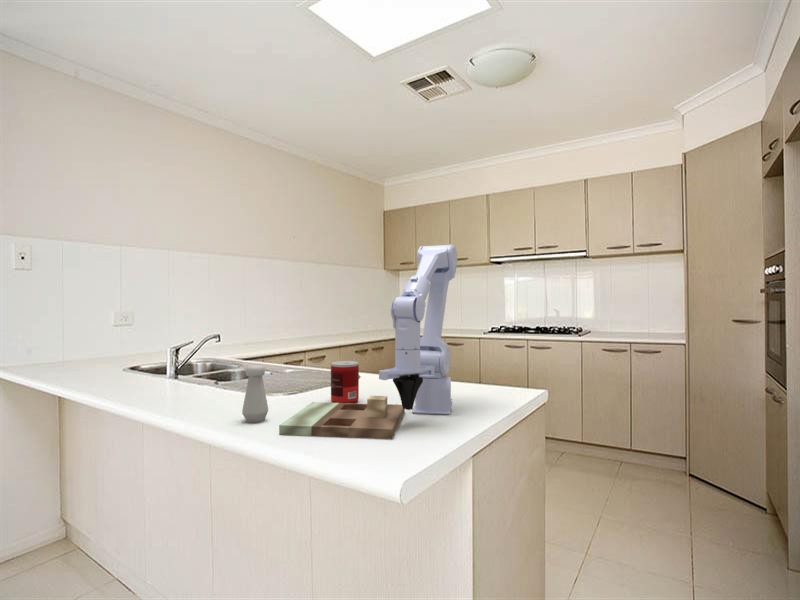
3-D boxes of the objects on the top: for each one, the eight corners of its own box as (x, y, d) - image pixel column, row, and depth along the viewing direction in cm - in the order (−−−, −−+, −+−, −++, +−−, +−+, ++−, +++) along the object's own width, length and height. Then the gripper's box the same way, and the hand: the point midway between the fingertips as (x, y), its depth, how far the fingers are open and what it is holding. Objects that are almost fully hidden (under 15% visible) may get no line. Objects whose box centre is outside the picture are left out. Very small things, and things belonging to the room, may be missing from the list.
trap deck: (404, 412, 113) (404, 404, 113) (392, 439, 91) (392, 429, 91) (312, 409, 116) (312, 402, 116) (279, 434, 94) (279, 425, 94)
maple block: (387, 413, 104) (387, 396, 104) (384, 417, 100) (384, 399, 100) (370, 412, 105) (370, 395, 105) (367, 416, 101) (367, 399, 101)
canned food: (361, 399, 129) (361, 360, 128) (355, 405, 121) (355, 365, 121) (335, 398, 129) (335, 360, 129) (327, 405, 122) (327, 364, 121)
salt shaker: (261, 416, 109) (261, 363, 109) (272, 420, 105) (272, 365, 105) (237, 420, 105) (237, 365, 105) (249, 425, 101) (249, 368, 101)
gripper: (421, 345, 109) (421, 401, 109) (371, 349, 101) (371, 409, 100) (440, 348, 104) (440, 406, 104) (389, 352, 95) (389, 416, 95)
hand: (407, 408), depth 102 cm, fingers closed
